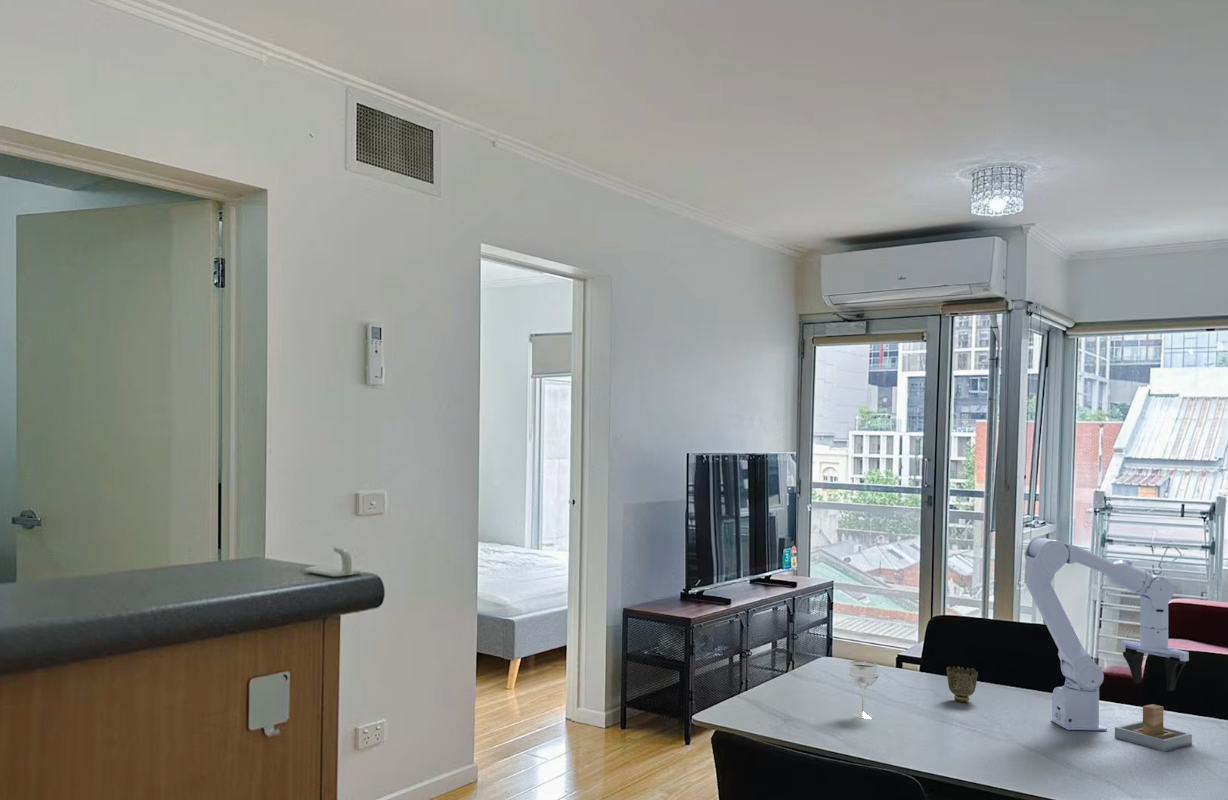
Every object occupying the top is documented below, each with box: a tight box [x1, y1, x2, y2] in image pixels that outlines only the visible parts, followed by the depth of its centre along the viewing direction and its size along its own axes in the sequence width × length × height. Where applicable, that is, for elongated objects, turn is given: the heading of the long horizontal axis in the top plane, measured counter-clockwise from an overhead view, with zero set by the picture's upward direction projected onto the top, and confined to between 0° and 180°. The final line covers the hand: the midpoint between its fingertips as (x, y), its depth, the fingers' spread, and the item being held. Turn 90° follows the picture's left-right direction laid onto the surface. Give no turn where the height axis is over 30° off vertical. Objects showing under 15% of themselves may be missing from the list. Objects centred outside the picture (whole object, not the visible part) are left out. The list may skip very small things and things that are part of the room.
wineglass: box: [848, 660, 879, 720], centre depth 224 cm, size 7×7×12 cm
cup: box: [946, 666, 979, 704], centre depth 240 cm, size 8×7×8 cm
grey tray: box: [1114, 720, 1193, 752], centre depth 211 cm, size 11×11×2 cm
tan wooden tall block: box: [1142, 703, 1165, 736], centre depth 211 cm, size 2×4×7 cm, turn 122°
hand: (1153, 686), depth 220 cm, fingers open, 7 cm apart
